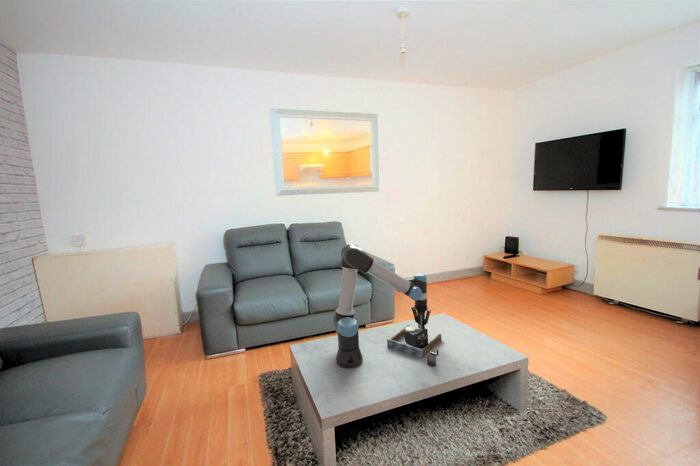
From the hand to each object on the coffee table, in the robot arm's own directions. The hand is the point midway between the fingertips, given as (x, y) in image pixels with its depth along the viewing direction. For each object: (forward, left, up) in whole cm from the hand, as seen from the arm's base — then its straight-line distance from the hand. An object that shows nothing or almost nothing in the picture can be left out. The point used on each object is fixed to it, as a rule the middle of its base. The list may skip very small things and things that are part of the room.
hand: (421, 333), depth 200 cm
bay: (0, -9, -3) cm, 9 cm away
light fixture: (0, -11, -3) cm, 11 cm away
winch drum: (+18, -24, -3) cm, 30 cm away
